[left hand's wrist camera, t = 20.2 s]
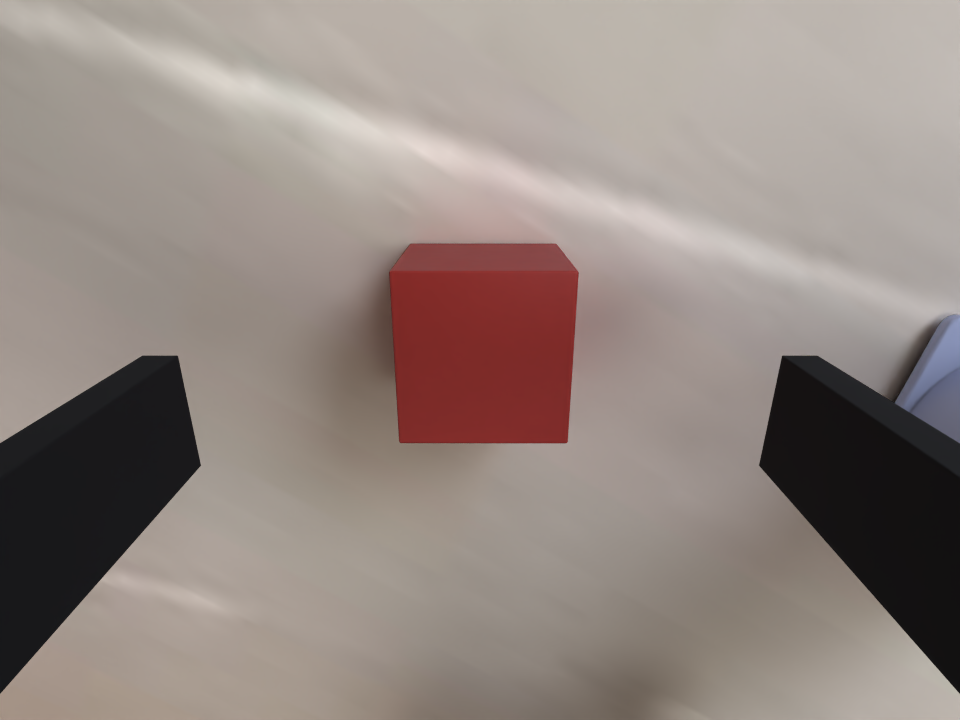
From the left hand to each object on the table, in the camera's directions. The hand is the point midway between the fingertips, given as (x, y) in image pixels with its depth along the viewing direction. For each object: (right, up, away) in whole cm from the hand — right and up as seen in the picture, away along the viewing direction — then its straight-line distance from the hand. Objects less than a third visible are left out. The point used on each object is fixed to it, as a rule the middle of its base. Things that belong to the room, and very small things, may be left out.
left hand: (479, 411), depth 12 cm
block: (0, +3, +7) cm, 8 cm away
